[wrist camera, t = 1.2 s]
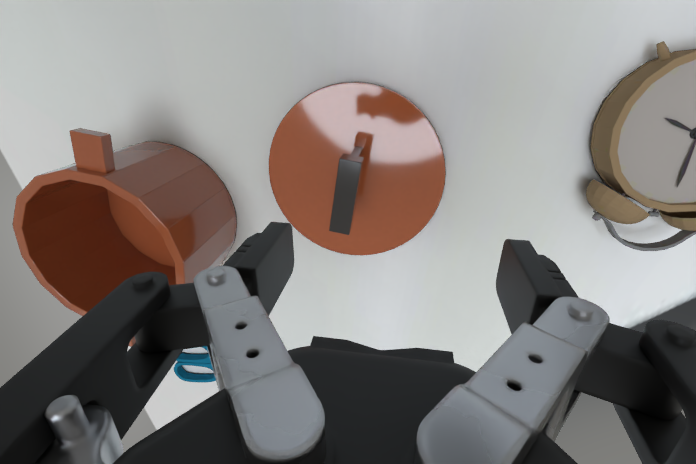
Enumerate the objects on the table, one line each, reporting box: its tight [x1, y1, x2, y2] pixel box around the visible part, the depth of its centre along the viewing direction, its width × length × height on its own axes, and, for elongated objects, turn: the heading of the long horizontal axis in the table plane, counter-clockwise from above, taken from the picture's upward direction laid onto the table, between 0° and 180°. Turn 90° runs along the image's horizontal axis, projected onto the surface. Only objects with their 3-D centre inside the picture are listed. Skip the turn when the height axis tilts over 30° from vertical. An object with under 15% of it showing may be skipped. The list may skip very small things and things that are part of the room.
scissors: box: [174, 346, 216, 382], centre depth 46 cm, size 7×1×20 cm
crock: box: [13, 128, 237, 347], centre depth 34 cm, size 15×20×10 cm
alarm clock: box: [586, 41, 696, 251], centre depth 28 cm, size 11×5×15 cm
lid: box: [269, 82, 445, 255], centre depth 31 cm, size 16×16×6 cm
